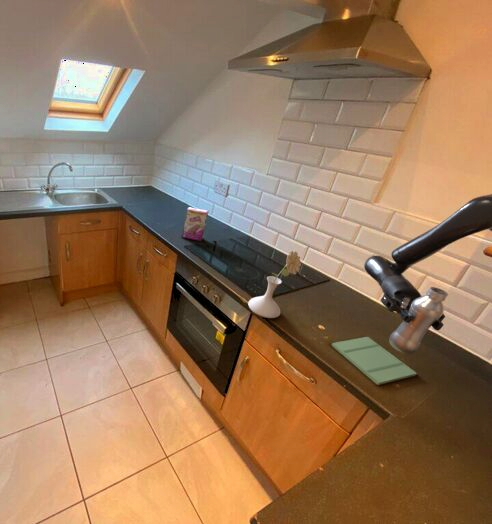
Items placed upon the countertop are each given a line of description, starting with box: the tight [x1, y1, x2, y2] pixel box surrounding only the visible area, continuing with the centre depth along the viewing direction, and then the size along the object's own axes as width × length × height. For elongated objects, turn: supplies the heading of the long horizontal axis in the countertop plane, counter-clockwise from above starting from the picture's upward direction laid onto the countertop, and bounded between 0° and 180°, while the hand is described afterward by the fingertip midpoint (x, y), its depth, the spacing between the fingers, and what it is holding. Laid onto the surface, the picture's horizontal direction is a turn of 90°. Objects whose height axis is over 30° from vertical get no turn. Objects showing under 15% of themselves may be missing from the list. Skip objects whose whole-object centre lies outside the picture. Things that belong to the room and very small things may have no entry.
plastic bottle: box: [388, 286, 449, 355], centre depth 82 cm, size 6×7×20 cm
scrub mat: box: [331, 336, 418, 386], centre depth 93 cm, size 16×16×1 cm
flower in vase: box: [247, 250, 302, 319], centre depth 105 cm, size 13×11×25 cm
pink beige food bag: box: [181, 206, 210, 242], centre depth 162 cm, size 11×5×16 cm, turn 74°
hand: (424, 323), depth 79 cm, fingers closed on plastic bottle, 6 cm apart
